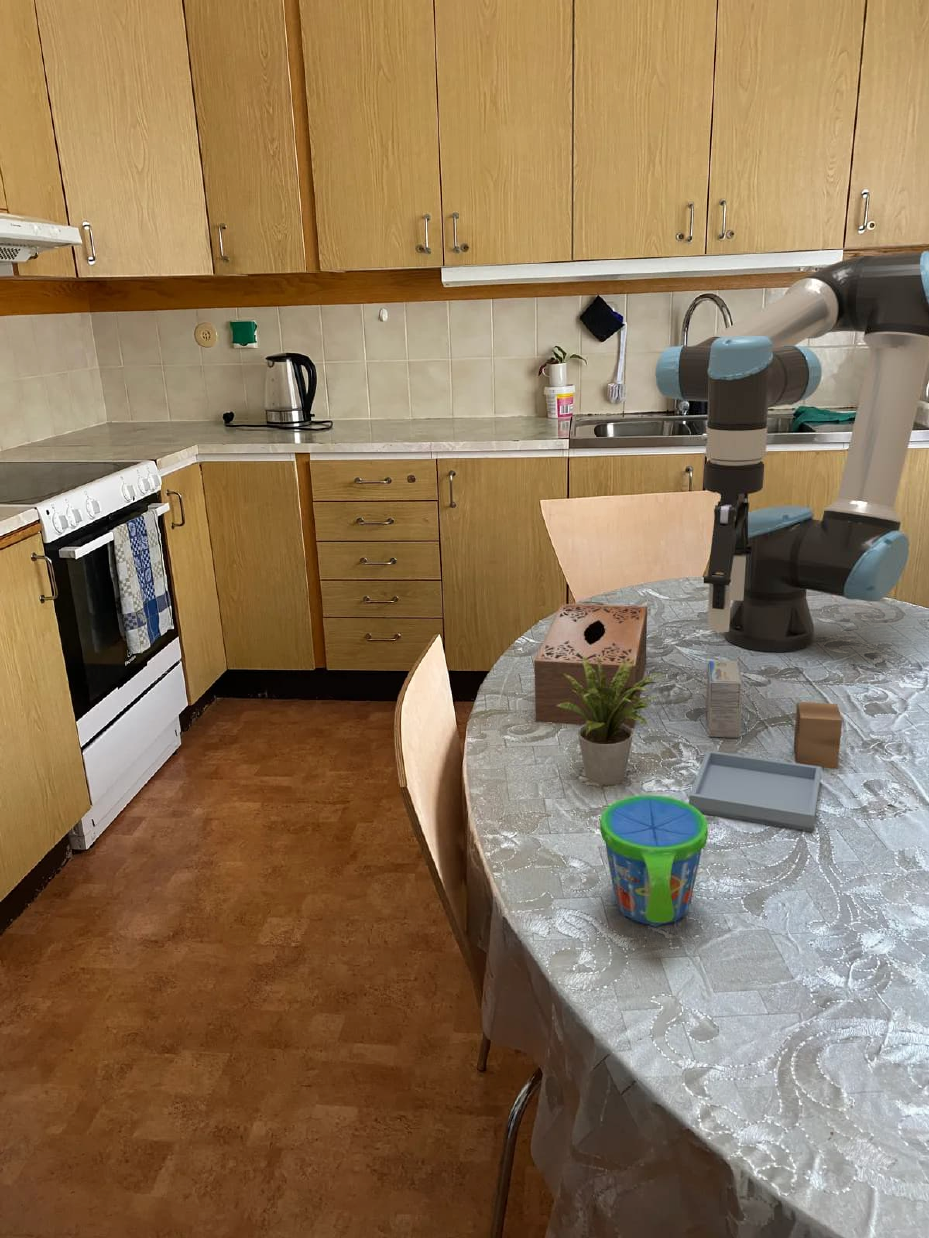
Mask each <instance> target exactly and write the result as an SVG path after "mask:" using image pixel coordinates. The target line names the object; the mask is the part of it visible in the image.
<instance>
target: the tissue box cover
mask: <svg viewBox="0 0 929 1238" xmlns="http://www.w3.org/2000/svg"><path fill="white" fill-rule="evenodd" d="M647 627H648V606H638V605H637V606H632V605H631V606H630V605H609V604H608V605H604V604H602V605H601V604H576V603H575V604H573V603H560V604H559V606H558V609H557V611H556V613H555V616H554V618H553V619H552V622H551V624H550V627H549V628H548V631H547V633H546V635H545V637H544V639H543V642H542V644H541V646H540V648H539V650H538V652H537V654H536V656H535V659H534V661H533V662H534V663H533V665H534V668H533V670H534V702H535V703H534V704H535V705H534V707H535V709H534V710H535V722H536V723H547V722H552V723H551V724H563V725H578V726H579V725H580V726H583V725H584V724H586V721H587V719H586V718H585V717H584V716H582V715H581V714H580V713H578V712H575V711H572V710H569V709H565V708H561V707H558V706H557V705H558V704H560V703H563V702H570V703H572V704H574V705H576V706H578V707H580V708H581V709H582V710H584V711H585V712H586V713H587V715H588V716H589V717H590V719H591V720H592V717H591V715H590V712H589V711H588V709H587V707H586V706H585V704H584V703H583V699H582V698H583V697H582V695H581V694H580V692H579V691H578V690H577V689H576V688H575V687H574V685H573V684H572V682H571V681H570V680H569V679H568V678H567V677H566V676H565V675H564V674H566V675H569V676H571V677H572V678H573V679H575V680H576V681H577V682H578V683H579V684H580V685H581V686H582V687H583V689H584V690H585V691H586V693H588V690H587V681H586V680H585V679H586V675H585V670H584V665H583V657H585V658H586V659H587V660H588V661H589V663H590V665H591V667H592V668H593V669H594V671H595V672H596V675H597V679H598V684H599V686H600V680H599V669H598V658H599V660H600V662H601V664H602V668H603V671H604V674H605V677H606V682H607V692H608V689H609V686H610V684H611V681H612V679H613V677H614V676H615V674H616V672H617V670H618V668H619V666H620V664H621V663H622V661H623V659H624V658H625V666H626V665H627V664H628V663H630V662H631V661H633V660H635V661H634V664H633V666H632V667H631V669H630V672H629V678H628V680H627V682H626V683H625V685H624V687H623V689H625V688H628V687H631V686H633V685H635V684H636V683H638V682H639V681H641V680H643V679H644V675H645V669H646V663H647V632H648V631H647V630H648V629H647ZM625 666H624V667H625ZM563 673H564V674H563ZM623 689H622V690H623ZM573 690H574V691H576V692H577V693H578V694H579V695H580V696H581V697H582V698H581V697H580V696H579V695H578V694H577V693H576V692H574V691H573ZM625 693H626V692H625ZM625 693H624V694H625ZM641 693H642V690H638V691H637V692H636V693H635V694H634V695H633V696H635V697H639V698H640V699H641ZM624 694H622V695H621V696H620V697H619V698H618V700H617V703H618V701H619V700H620V699H621V698H622V697H623V695H624ZM630 694H631V693H630ZM630 694H629V695H630ZM629 695H628V696H627V697H629ZM589 697H590V696H589ZM627 697H626V698H627ZM638 701H640V700H634V701H632V702H633V703H632V702H629V703H627V704H626V706H625V707H624V709H623V710H622V712H623V711H624V710H625V709H626V708H628V707H629V706H631V705H632V704H635V703H637V702H638ZM617 703H616V704H617ZM622 712H621V713H622ZM621 713H620V714H621ZM631 714H636V715H638V711H635V712H633V713H631ZM618 717H619V716H618ZM633 720H634V719H631V718H626V719H625V720H624V721H623V722H622V724H625V725H626V724H627V723H628V724H627V726H628V727H630V728H631V729H635V726H636V721H637V720H634V721H633ZM592 721H593V720H592ZM629 722H630V723H629Z"/></svg>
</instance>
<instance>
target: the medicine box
mask: <svg viewBox="0 0 929 1238" xmlns="http://www.w3.org/2000/svg"><path fill="white" fill-rule="evenodd" d="M739 664H740V663H739V661H736V660H735V661H734V660H708V662H707V672H706V696H705V697H706V699H705V700H706V701H705V703H706V704H705V706H706V707H705V714H706V722H707V723H706V724H707V733H708V734H707V736H708V737H711V738H728V739H729V738H730V739H731V738H733V739H739V738H741V724H742V701H743V700H742V698H743V697H742V696H743V680H742V676H741V669H740V665H739Z"/></svg>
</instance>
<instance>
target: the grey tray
mask: <svg viewBox="0 0 929 1238" xmlns="http://www.w3.org/2000/svg"><path fill="white" fill-rule="evenodd" d="M822 771H823V769H822V767H819V766H812V765H806V764H799V763H796V762H791V761H784V760H776V759H772V758H771V759H770V758H763V757H755V756H750V755H743V754H742V755H741V754H736V753H728V752H722V751H714V750H708V749H707V750H706V752H705V754H704V757H703V759H702V762H701V765H700V766H699V770H698V772H697V775H696V777H695V780H694V783H693V784H692V787H691V790H690V792H689V795H688V804H690V805H692V806H693V807H695V808H696V809H698V810H699V811H700V812H701V813H702V814H703V815H707V816H708V815H710V816H716V817H721V818H727V819H733V820H738V821H745V822H749V823H755V824H761V825H762V824H763V825H767V826H772V827H773V826H775V827H780V828H784V829H791V830H797V831H803V832H809V833H814V826H815V820H816V812H817V809H818V808H817V806H818V801H819V794H820V786H821V782H822V781H821V779H822V777H821V776H822Z"/></svg>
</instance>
